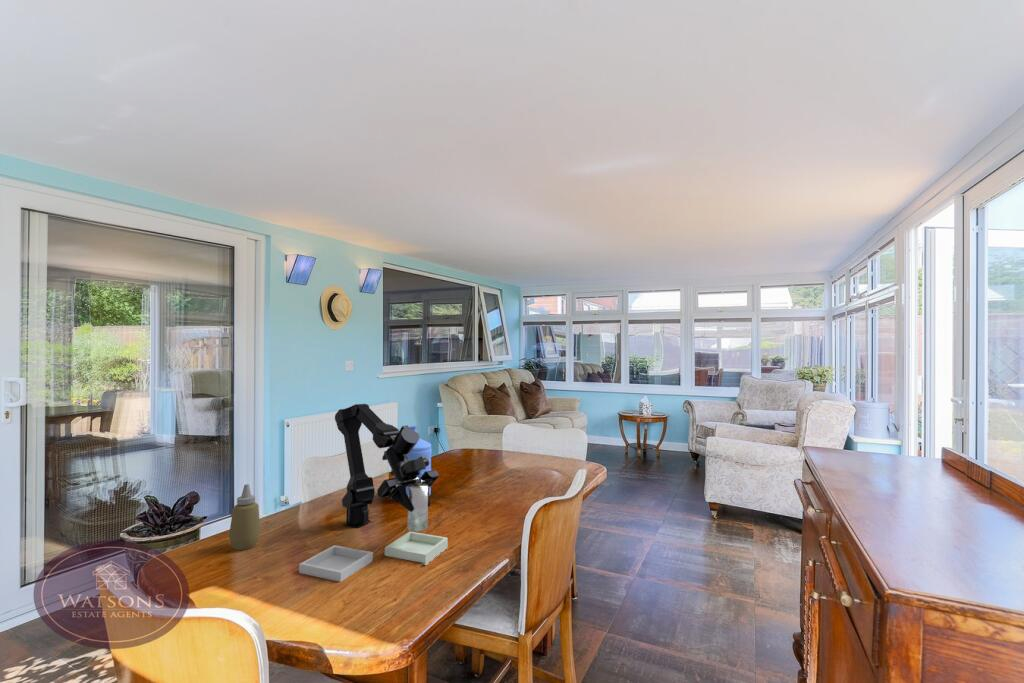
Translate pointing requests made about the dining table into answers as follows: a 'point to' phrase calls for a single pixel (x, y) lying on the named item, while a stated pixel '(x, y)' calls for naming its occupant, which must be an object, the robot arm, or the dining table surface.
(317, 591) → the dining table surface
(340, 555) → the grey bin
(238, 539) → the squeeze bottle
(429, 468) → the water jug
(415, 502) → the brushed metal cylinder
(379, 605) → the dining table surface
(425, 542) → the sage bin
